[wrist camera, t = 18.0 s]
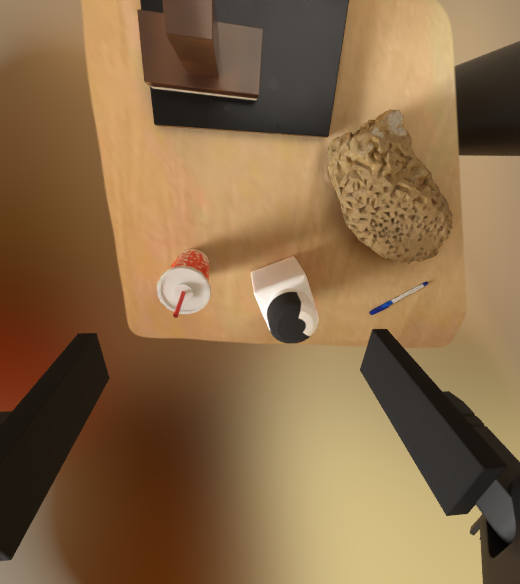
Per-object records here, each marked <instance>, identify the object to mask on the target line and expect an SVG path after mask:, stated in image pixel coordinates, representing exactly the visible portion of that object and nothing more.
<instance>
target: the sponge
mask: <svg viewBox="0 0 520 584" xmlns="http://www.w3.org/2000/svg"><path fill="white" fill-rule="evenodd" d="M402 120H403V115H402V114H401V112H400V111H399V110H389V111H386V112H384V113H383V114H381V115H379V116H378V117H377V118H376V120H369V121H368V123H366V124H364V125H362V126H361V127H360V130H358V131H357V132H356V133H355V134H354V135H352V133H351V132H350V133H345V134H344V135H343V136H341V137H338V138H336V139H334V140H333V141H332V143H331V145H330V146H329V148H328V158H327V161H328V170H329V175H330V179H331V182H332V184H333V186H334V187H335V190H336V193H337V196H338V198H339V201H340V204H341V209H342V214H343V217H344V220H345V223H346V225H347V226H348V227H349V228H350V229H351V230H352V232H353V233H354V234H355V235H356V237H357V238H358V240H359V241H360V242H361V243H364V244H365V245H366V246H368V247H370V248H371V249H372V250H373V251H374V252H376V253H377V254H379V255H380V256H381V257H382V258H383V259H385V258H386V259H388V260H391V261H396V262H400V263H403V262H407V263H411V262H412V261H413V260H417V261H418V262H420V261H423V260H426V259H429V258H432V257H434V256H436V255H437V253H438V249H439V248H440V246H441V245H442V244H443V241H444V240H446V239H448V236H449V234H450V231H449V230H450V229H451V228H452V213H451V211H450V210H449V206H448V203H447V201H446V199H445V198H444V197H443V195H442V194H441V192H440V190H439V187H438V186H437V185H436V184H435V183H434V182H433V180H432V178H431V173H430V171H429V170H428V169H427V168H426V167H425V165H423V164H422V163H421V162H420V161H419V159H418V158H417V157H416V156H415V154H414V152H413V150H412V148H411V137H410V135H409V133H408V132H407V130H406V129H405V128H404V126H403V124H402Z"/></svg>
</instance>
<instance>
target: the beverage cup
mask: <svg viewBox="0 0 520 584" xmlns="http://www.w3.org/2000/svg"><path fill="white" fill-rule="evenodd" d="M157 295H158V297H159V299H160V301H161V303H162V304H163V305H164V306H165V307H166V308H168V309H169V310H171V311H174V315H173V316H174V317H175V318H177V317H178V315H179V313H180V314H191V313H195V312H198V311H199V310H201V309H202V308H204V307H205V306H206V304H207V302H208V301H209V298H210V285H209V260H208V257H207V256H206V255H205V254H204V253H203V252H201V251H199V250H197V249H188V250H185V251H184V252H182V253H181V254H180V255H179V256H178V258H177V259H176V261H175V262H174V263H173V265H172V266H171V267H170V269H169V270H167V271H166V272H165V273H163V275H162V276H161V278H160V280H159V282H158V284H157Z"/></svg>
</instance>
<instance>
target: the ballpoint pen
mask: <svg viewBox="0 0 520 584" xmlns="http://www.w3.org/2000/svg"><path fill="white" fill-rule="evenodd" d="M427 284H428V282H425V283H422V284H420V285H418V286H416V287H414V288H413V289H411V290H409V291H407V292H405V293H403V294H402V295H400V296H398V297H396V298H394V299H392V300H390V301H388V302H386V303H384V304H383V305H381V306H379V307H377V308H375V309H373V310H372V311H370V312H369V313H370V314H371V315H374V314H376V313H378V312H380V311H382V310H384V309H386V308H388V307H389V306H390V305H391V304H393V303H395V302H397V301H398V300H400V299H402V298H404V297H406V296H408V295H410V294H411V293H413V292H415V291H417V290H419V289H421V288H423V287H424V286H426V285H427Z"/></svg>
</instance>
